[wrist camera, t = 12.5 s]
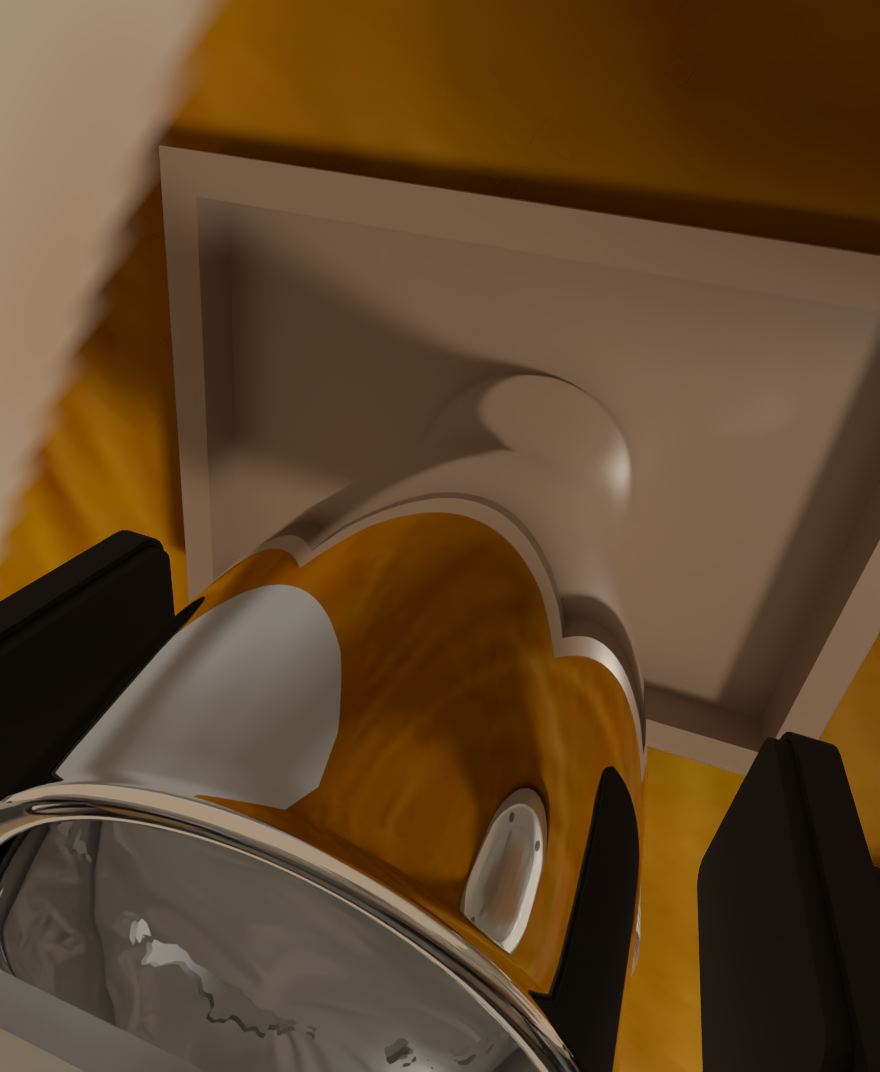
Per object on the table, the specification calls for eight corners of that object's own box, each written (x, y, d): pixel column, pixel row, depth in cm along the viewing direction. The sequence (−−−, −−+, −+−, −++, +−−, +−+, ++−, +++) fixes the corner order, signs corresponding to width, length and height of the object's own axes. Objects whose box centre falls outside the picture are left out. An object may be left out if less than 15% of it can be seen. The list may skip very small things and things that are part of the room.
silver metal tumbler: (560, 299, 16) (226, 630, 4) (698, 518, 18) (816, 1316, 5) (364, 441, 20) (-175, 877, 7) (495, 616, 21) (249, 1249, 8)
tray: (1013, 275, 14) (1076, 286, 12) (776, 730, 21) (789, 789, 19) (216, 152, 18) (158, 145, 16) (229, 572, 25) (189, 606, 23)
